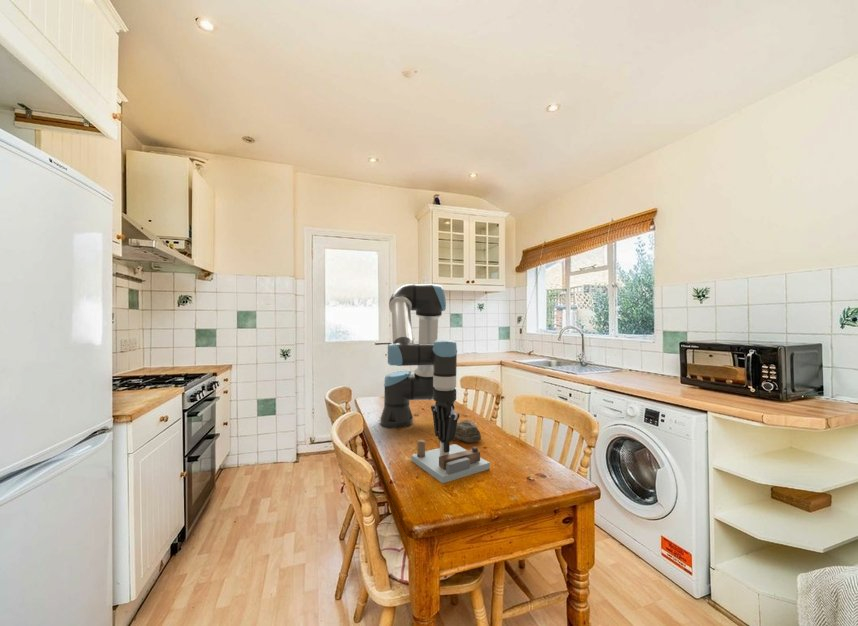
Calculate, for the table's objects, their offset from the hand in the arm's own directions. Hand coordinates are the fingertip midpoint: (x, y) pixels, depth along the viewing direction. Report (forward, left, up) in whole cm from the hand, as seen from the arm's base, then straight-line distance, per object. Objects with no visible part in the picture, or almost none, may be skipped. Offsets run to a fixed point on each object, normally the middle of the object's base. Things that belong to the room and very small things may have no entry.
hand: (444, 460), depth 112 cm
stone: (-20, +24, -4) cm, 31 cm away
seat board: (-3, +4, -3) cm, 6 cm away
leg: (+3, +4, -1) cm, 5 cm away
